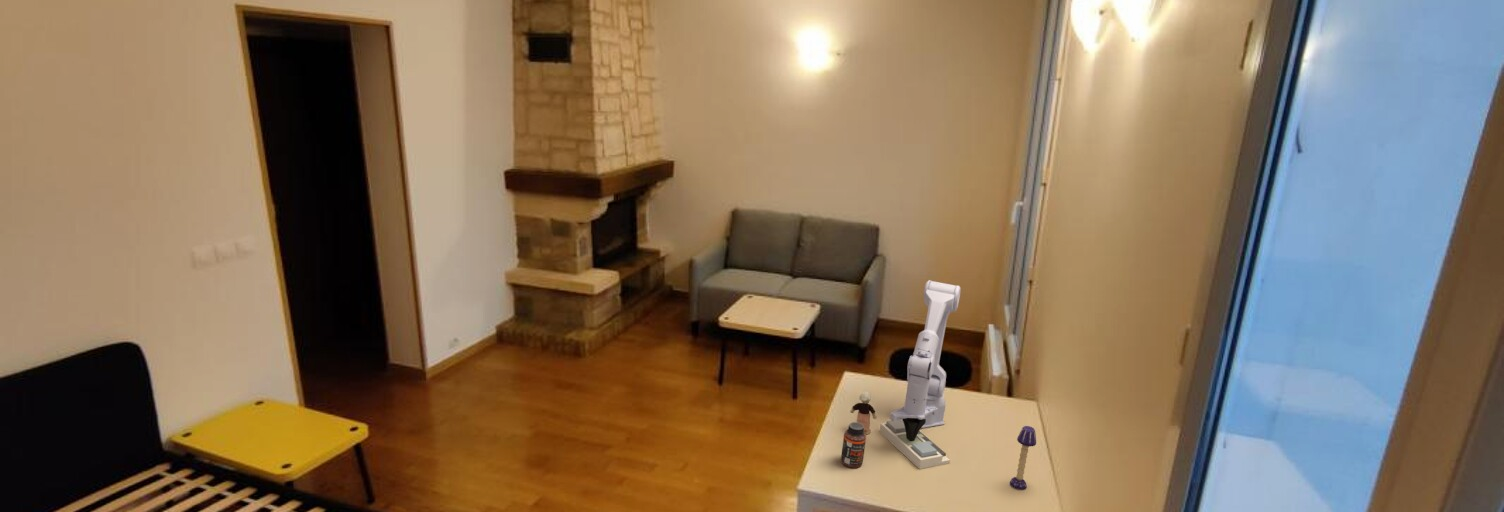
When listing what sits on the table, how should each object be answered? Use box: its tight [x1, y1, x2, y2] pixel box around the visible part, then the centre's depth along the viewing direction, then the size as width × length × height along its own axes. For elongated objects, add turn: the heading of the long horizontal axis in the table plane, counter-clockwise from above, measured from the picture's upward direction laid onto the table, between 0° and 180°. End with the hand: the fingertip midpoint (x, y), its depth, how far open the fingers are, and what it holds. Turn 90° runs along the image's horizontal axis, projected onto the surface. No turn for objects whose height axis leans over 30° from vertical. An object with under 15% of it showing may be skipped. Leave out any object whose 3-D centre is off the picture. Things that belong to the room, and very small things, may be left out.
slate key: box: [912, 441, 937, 457], centre depth 194 cm, size 5×5×1 cm
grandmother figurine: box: [849, 391, 878, 435], centre depth 206 cm, size 8×4×13 cm, turn 84°
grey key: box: [886, 419, 906, 434], centre depth 206 cm, size 5×5×1 cm
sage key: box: [898, 435, 921, 446], centre depth 200 cm, size 5×5×1 cm
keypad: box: [879, 421, 951, 470], centre depth 201 cm, size 10×20×3 cm, turn 23°
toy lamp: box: [1009, 425, 1037, 490], centre depth 184 cm, size 5×5×17 cm
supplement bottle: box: [840, 421, 867, 469], centre depth 190 cm, size 6×6×11 cm
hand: (910, 439), depth 200 cm, fingers closed, pressing on sage key
